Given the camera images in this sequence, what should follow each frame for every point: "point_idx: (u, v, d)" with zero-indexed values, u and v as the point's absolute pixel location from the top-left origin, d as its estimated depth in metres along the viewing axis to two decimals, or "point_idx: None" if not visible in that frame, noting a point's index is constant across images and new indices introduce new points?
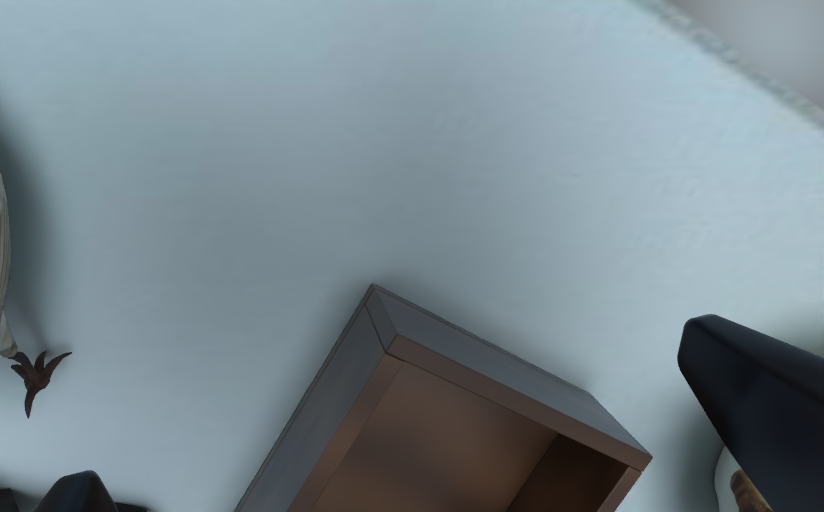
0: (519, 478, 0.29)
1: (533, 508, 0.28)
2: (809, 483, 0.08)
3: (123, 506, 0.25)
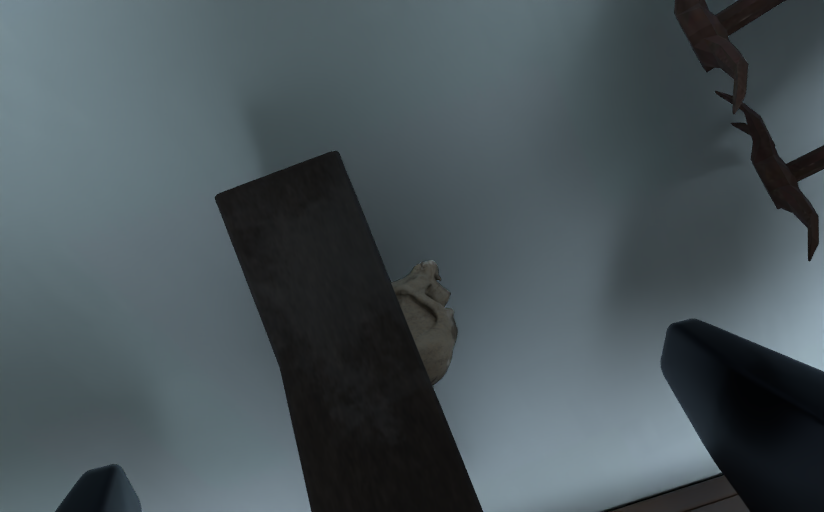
0: None
1: None
2: (790, 489, 0.08)
3: None
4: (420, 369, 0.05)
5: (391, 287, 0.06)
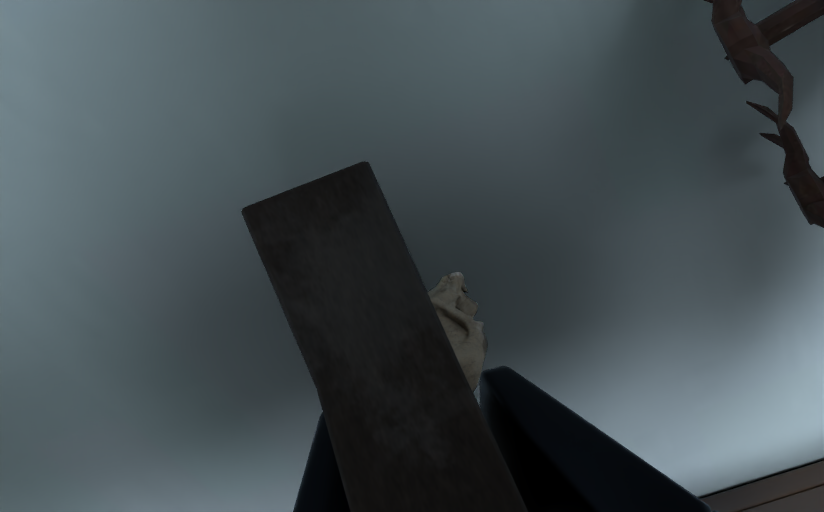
0: None
1: None
2: None
3: None
4: (465, 387, 0.05)
5: (430, 302, 0.05)
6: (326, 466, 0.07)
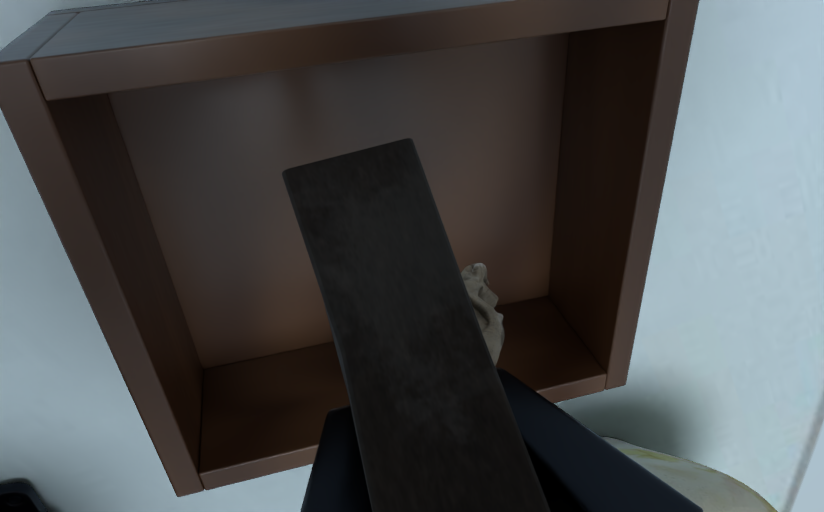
0: None
1: None
2: None
3: None
4: (491, 368, 0.05)
5: (463, 281, 0.05)
6: (334, 464, 0.07)
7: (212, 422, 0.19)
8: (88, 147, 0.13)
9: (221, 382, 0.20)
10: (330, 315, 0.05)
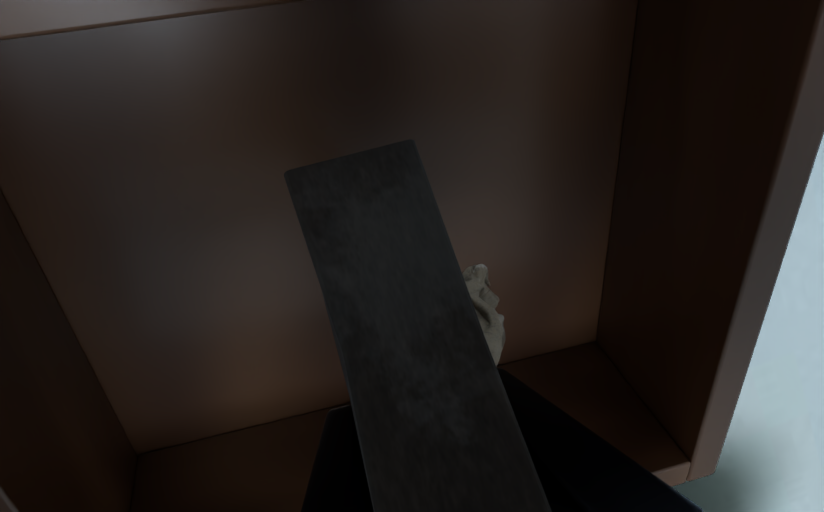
0: None
1: None
2: None
3: None
4: (493, 369, 0.05)
5: (465, 283, 0.05)
6: (334, 464, 0.07)
7: None
8: None
9: (159, 475, 0.15)
10: (332, 316, 0.05)
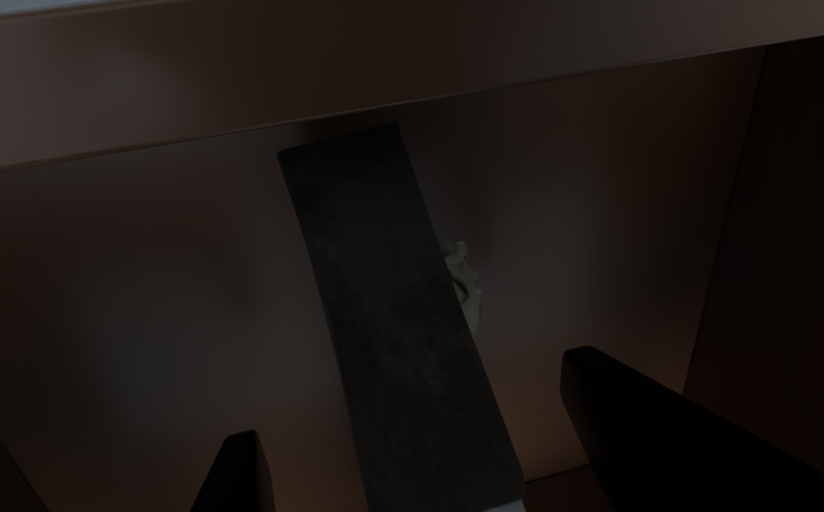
0: None
1: None
2: None
3: None
4: (466, 329, 0.06)
5: (441, 252, 0.06)
6: (217, 495, 0.07)
7: None
8: None
9: None
10: (320, 282, 0.06)
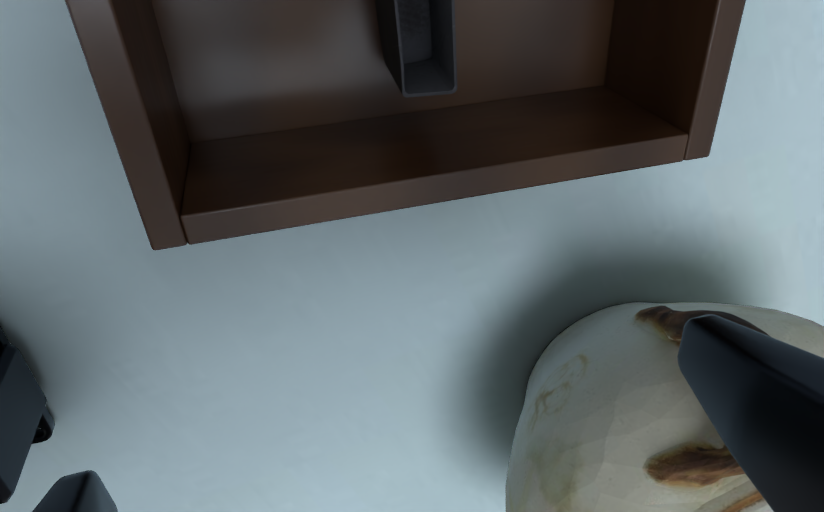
0: (474, 90, 0.18)
1: (477, 120, 0.17)
2: (809, 482, 0.08)
3: None
4: None
5: None
6: None
7: (199, 178, 0.15)
8: None
9: (212, 151, 0.17)
10: None
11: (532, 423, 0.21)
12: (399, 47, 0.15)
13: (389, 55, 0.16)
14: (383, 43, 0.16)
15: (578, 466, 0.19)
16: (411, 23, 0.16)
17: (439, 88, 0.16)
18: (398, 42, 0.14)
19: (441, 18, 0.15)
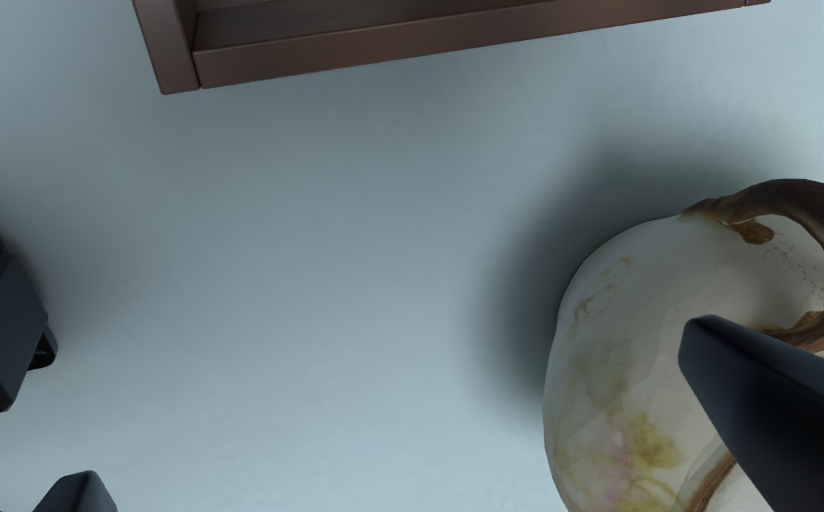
0: None
1: None
2: (809, 483, 0.08)
3: None
4: None
5: None
6: None
7: (210, 29, 0.14)
8: None
9: (222, 13, 0.15)
10: None
11: (572, 332, 0.20)
12: None
13: None
14: None
15: (629, 363, 0.17)
16: None
17: None
18: None
19: None
